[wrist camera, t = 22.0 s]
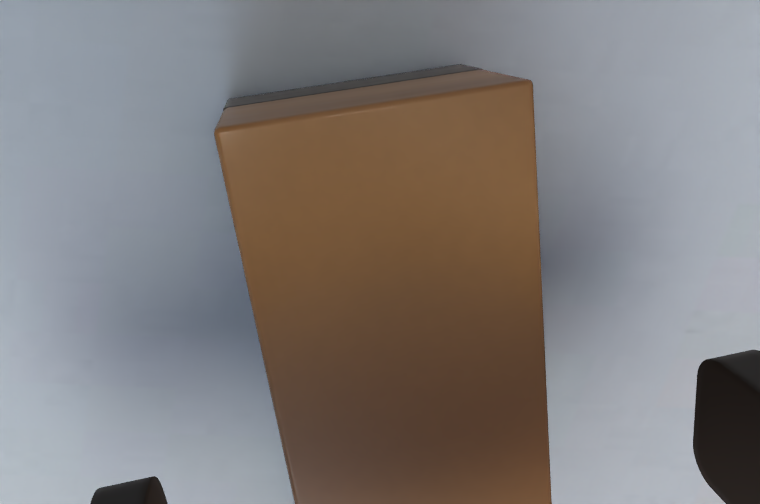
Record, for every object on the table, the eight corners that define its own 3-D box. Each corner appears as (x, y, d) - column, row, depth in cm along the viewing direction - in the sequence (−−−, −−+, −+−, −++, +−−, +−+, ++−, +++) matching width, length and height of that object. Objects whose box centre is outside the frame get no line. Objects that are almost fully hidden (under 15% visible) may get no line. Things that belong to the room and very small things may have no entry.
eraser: (226, 98, 13) (212, 128, 10) (462, 63, 14) (534, 78, 10) (314, 520, 17) (328, 658, 13) (496, 479, 18) (557, 600, 14)
